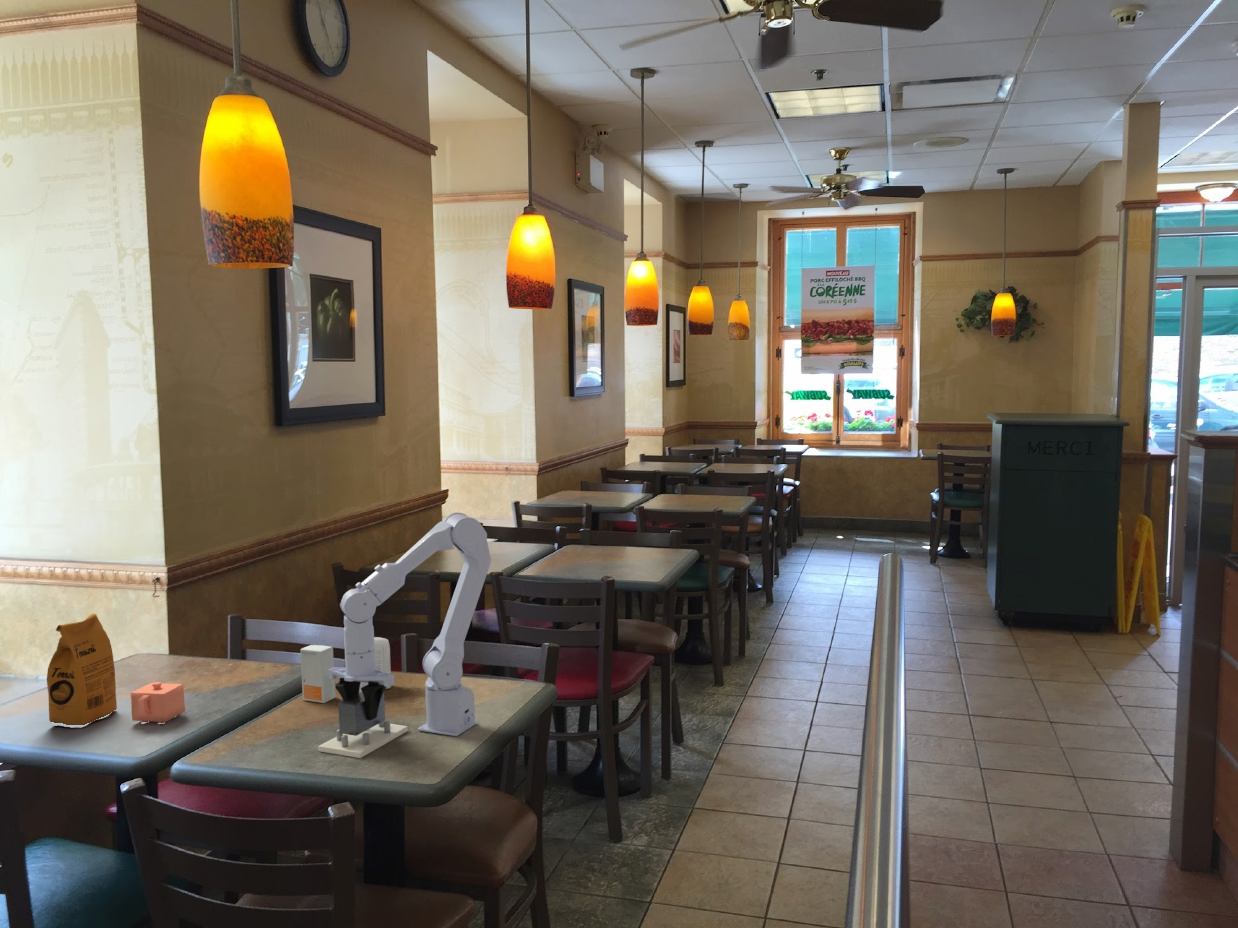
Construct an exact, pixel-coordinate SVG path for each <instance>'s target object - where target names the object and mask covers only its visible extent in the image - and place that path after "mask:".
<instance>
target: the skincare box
mask: <svg viewBox="0 0 1238 928" xmlns="http://www.w3.org/2000/svg"><path fill="white" fill-rule="evenodd" d="M299 650H300V669H301V688H302V689H301V691H302V701H308V702H312V703H313V702H314V703H320V704H325V703H327V702H329V701H331V700H333V699H335V698H336V687H335V685H336V684H335V679H329V671H328V670H329V669H331V668H334V667H335V666H334V665H335V664H334V647H333V646H328V645H323V644H321V645H320V644H318V645H317V644H310V645H308V646H305V647H302V648H301V649H299Z"/></svg>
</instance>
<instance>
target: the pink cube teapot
mask: <svg viewBox="0 0 1238 928" xmlns="http://www.w3.org/2000/svg"><path fill="white" fill-rule="evenodd" d="M184 690H185V689H184V684H182V683H167V682H166V683H163V682H162V681H156V682H150V683H148V684H146V685H143V686H142V687H140V688H138V689H136V690H134V691H131V692H130V705H131V706H130V708H131V720H132V721H134V722H138V721H139V722H148V721H149V722H153V723H154V722H157V724H158V723H164V722H166V723H167V722H168V721H170V720H172V718H173V719H175V718H174V717H175V716H178V715H180V714H183V713H184V712H186V706H185V703H186V702H185V691H184Z"/></svg>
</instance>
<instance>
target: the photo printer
mask: <svg viewBox="0 0 1238 928" xmlns="http://www.w3.org/2000/svg"><path fill="white" fill-rule="evenodd" d="M374 647H375V669H377V670H380V671H383V672H385V673H389V674H392V671H391V669H392V667H391V646H390V642H389V639H387V638H383V637H377V636H374ZM366 685H368V683H366V682H361V683H360V689H359V693H361V692H362V690H361V688H362V687H364V686H366ZM391 688H392V685H391V686H389V687H386V689H385V690H388V689H391Z"/></svg>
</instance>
